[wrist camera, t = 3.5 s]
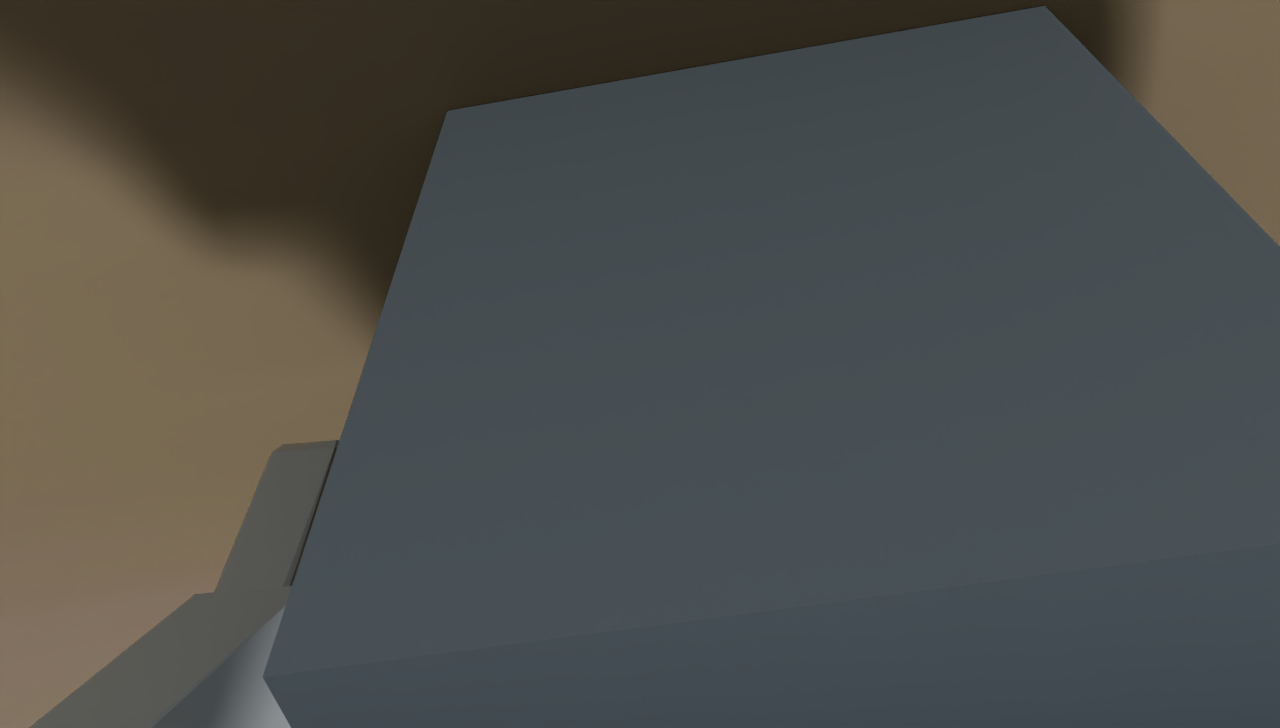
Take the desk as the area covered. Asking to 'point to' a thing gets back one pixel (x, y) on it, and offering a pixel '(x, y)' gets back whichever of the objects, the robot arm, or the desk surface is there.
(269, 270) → the desk surface
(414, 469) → the blue block
